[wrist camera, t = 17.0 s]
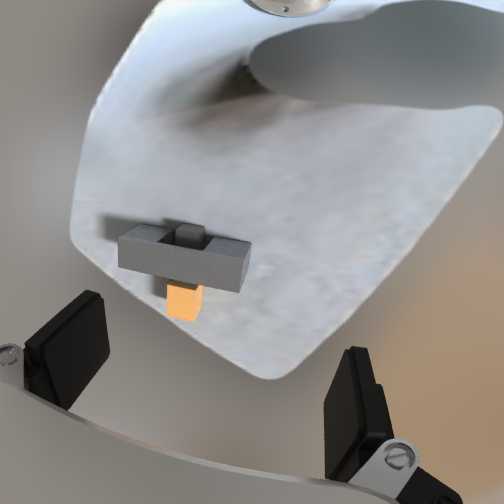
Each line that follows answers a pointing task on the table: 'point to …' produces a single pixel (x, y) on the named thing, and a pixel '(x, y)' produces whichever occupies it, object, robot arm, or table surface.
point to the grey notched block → (184, 258)
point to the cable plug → (182, 293)
